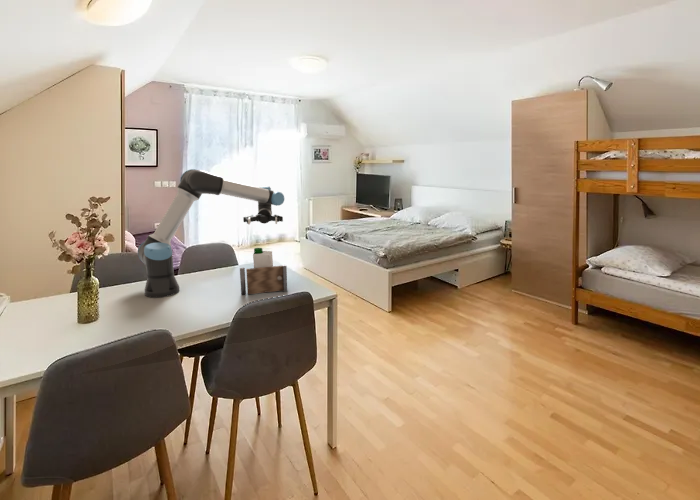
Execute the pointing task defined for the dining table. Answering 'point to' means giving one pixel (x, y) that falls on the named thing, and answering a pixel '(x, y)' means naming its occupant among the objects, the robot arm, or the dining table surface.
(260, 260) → the soya milk
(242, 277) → the door frame
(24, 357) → the dining table surface
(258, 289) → the door
